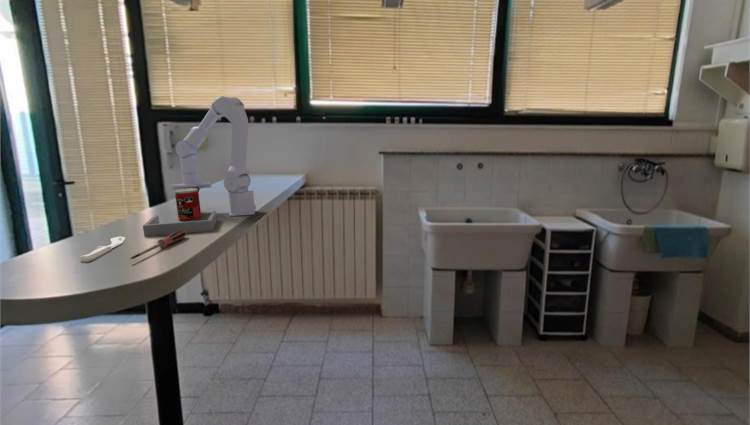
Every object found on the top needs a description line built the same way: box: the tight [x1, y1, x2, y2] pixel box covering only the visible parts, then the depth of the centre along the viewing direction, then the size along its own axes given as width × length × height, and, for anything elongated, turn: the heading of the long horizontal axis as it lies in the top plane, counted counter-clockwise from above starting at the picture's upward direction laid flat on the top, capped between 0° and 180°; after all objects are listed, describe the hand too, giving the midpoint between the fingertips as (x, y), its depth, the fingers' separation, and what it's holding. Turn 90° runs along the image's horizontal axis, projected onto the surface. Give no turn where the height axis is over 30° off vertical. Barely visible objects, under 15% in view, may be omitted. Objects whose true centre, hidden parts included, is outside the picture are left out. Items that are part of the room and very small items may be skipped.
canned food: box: [174, 188, 202, 222], centre depth 151 cm, size 8×8×11 cm
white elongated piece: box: [79, 235, 126, 263], centre depth 121 cm, size 30×2×8 cm
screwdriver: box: [129, 230, 187, 260], centre depth 116 cm, size 25×3×3 cm, turn 174°
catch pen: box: [142, 210, 218, 237], centre depth 139 cm, size 20×15×4 cm
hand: (193, 206), depth 163 cm, fingers closed
